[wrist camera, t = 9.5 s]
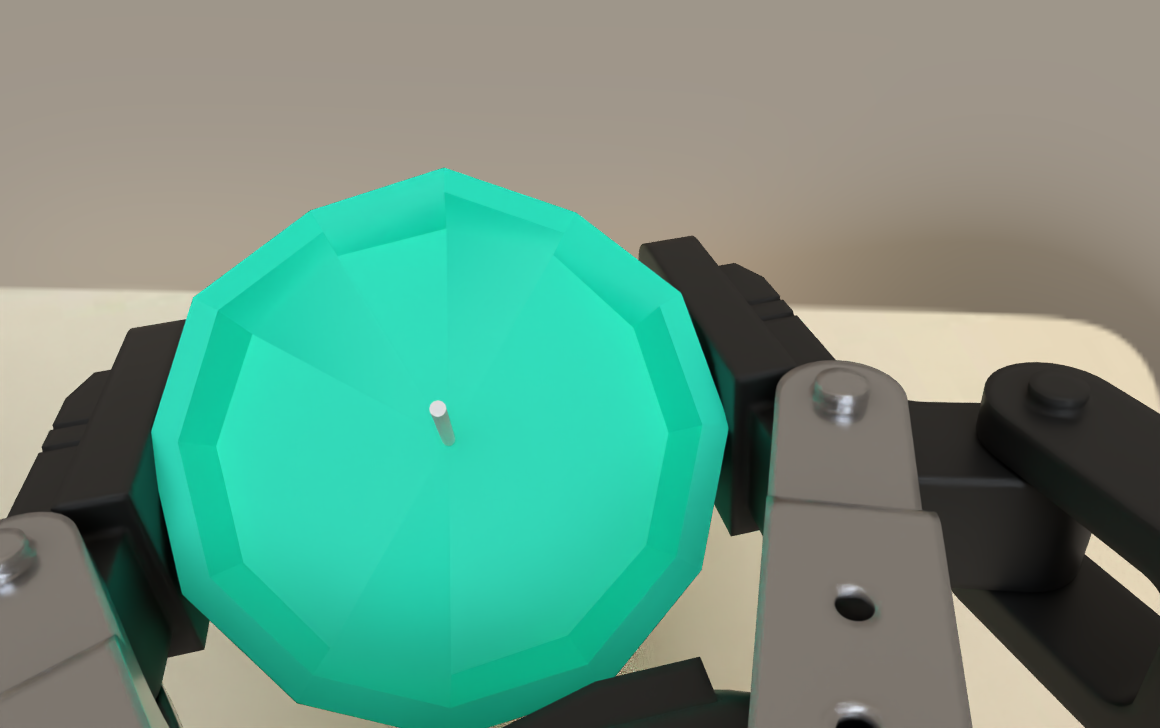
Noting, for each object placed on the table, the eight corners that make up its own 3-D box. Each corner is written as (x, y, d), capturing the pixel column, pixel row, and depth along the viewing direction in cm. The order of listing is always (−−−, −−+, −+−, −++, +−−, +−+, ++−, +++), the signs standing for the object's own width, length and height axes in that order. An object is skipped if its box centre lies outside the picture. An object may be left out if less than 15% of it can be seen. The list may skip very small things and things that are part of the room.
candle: (654, 542, 19) (904, 518, 8) (420, 698, 18) (294, 948, 6) (514, 320, 20) (547, -7, 8) (280, 456, 19) (-56, 292, 7)
